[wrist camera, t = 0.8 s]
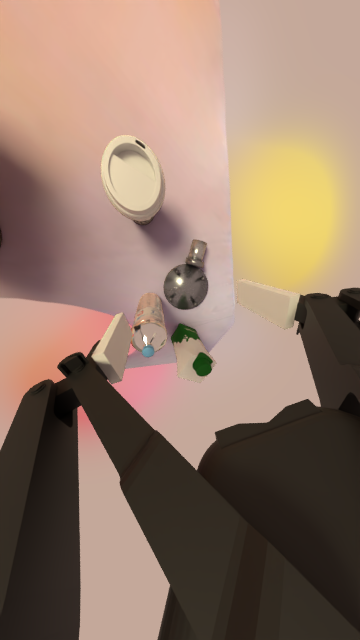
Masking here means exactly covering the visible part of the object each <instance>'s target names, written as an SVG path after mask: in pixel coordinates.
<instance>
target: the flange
mask: <svg viewBox="0 0 360 640" xmlns="http://www.w3.org/2000/svg"><path fill="white" fill-rule="evenodd" d="M206 246H207V243H205V242H203V241H200V240H193V241H192V245H191V249H190V253H189V257H188V258H186V262H185V263H187V264H182V265H179V266H176V267H175V268H173V269H172V270H171V271H170V272H169V273H168V275H167V276H166V278H165V281H164V293H165V296H166V299H167V300H168V302H169V303H170V304H171V305H173V306H174V307H176V308H178V309H191V308H193V307H195V306H197V305H198V304H200V303H201V302H202V300H203V299H204V297H205V296H206V293H207V289H208V282H207V278H206V276H205V274H204V273H203V271H202V270H201V269H200V268H198V267H202V268H203V266H204V262H202V259H203V256H204V253H205V249H206ZM190 264H191V265H190ZM196 266H198V267H196Z"/></svg>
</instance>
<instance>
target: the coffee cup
mask: <svg viewBox="0 0 360 640" xmlns="http://www.w3.org/2000/svg"><path fill="white" fill-rule="evenodd" d="M101 178H102V183H103V187H104V190H105V192H106V195H107V197H108V199H109V200H110V202H111V203H112V205H113V206H114V207H115V208H116V209H117V210H118V211H119V212H120V213H121V214H122V215H124V216H125V217H127V218H129V219H132V220H133V221H134V222H136V223H138V224H140V225H146V224H148V223H150V222H151V221H152V219H153V217H154V215H155V214H156V213H157V212H158V211H159V210H160V208H161V206H162V204H163V201H164V196H165V179H164V174H163V171H162V168H161V165H160V163H159V161H158V159H157V157H156V155H155V154H154V153H153V151H152V150H151V149H150V148H149V147H148V146H147V145H146V144H145V143H144V142H142V141H141V140H139V139H138V138H135V137H133V136H129V135H122V136H118V137H116V138H114V139H113V140H112V141H111V142H110V143H109V144H108V146H107V147H106V149H105V151H104V153H103V156H102V161H101Z"/></svg>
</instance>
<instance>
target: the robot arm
mask: <svg viewBox="0 0 360 640" xmlns="http://www.w3.org/2000/svg"><path fill="white" fill-rule="evenodd" d="M1 240H2V237H1V231H0V246H1ZM237 303H239V304H240V305H242V306H244V307H245V308H247V309H249V310H251V311H253V312H255V313H256V314H258V315H260V316H262V317H263V318H265V319H267V320H269V321H271V322H272V323H274V324H276V325H277V326H279V327H281V328H283V329H288V328H291V327H293V325H294V320H296V321H299V325H298V329H297V335H298V333H300V334H301V338H302V341H303V345H304V348H305V351H306V355H307V358H308V362H309V365H310V368H311V372H312V375H313V379H314V382H315V386H316V389H317V392H318V395H319V399H320V403H321V407H316V406H315V405H314V404H313V403H312V402H311V401H310V400H308V399H306V400H303V401H300V402H298V403H295V404H292V405H289V406H287V407H285V408H284V409H283V410H282V411H281V412H279V413H278V414H277V415H276V416H275V417H274V418H273V419H272V420H271V421H270V422H267V423H249V424H237V425H234V426H231V427H228V428H225V429H223V430H220V431H217V432H215V435H216V441H215V442H214V443H213V444H212V445H211V446H210V447H209V448H208V449H207V451H206V452H205V454H204V455H203V457H202V459H201V461H200V463H199V466H198V469H197V470H195V468H194V467H193V466H191V464H190V463H189V462H188V461H187V460H186V459H185V458H184V457H183V456H181V454H180V453H179V452H178V451H177V450H176V449H175V448H174V447H173V446H172V445H171V444H170V443H169V442H168V441H167V440H166V439H165V438H164V437H163V436H162V435H161V434H160V433H159V432H158V431H155V430H154V429H153V428H152V427H151V426H150V425H149V424H148V423H147V422H146V421H145V420H144V419H143V418H142V417H141V416H140V415H139V414H138V413H137V412H136V410H134V408H133V407H132V406H131V405H130V404H129V403H128V402H127V401H126V400H125V399H124V398H123V397H122V396H121V395H120V394H119V393H118V392H117V391H116V390H115V389H114V388H113V387H112V385H111V384H113V383H117V382H120V381H122V378H123V373H124V369H125V365H126V361H127V356H128V352H129V348H130V343H131V339H132V335H133V333H132V331H131V328H130V326H129V324H128V322H127V320H126V318H125V316H124V314H123V313H120V314H116V315H115V317H114V319H113V320H112V322H111V324H110V325H109V327H108V329H107V331H106V332H105V334H104V336H103V338H102V339H101V340H99V341H98V342H97V343H96V344H95V345H94V346H93V347H92V350H91V351H90V353H89V354H88V355H87V357H86V358H85V356H84V355H83V354H82V353H81V352H78V353H74V354H72V355H70V356H68V357H66V358H65V359H63V360H62V361H61V362H60V363H59V365H58V367H57V368H58V369H59V370H60V371H61V372H62V373H63V374H64V375H65V376H66V378H65V379H63V380H61V381H60V382H57V383H54V382H53V381H52V380H49V379H48V380H44V381H42V382H40V383H38V384H36V385H34V386H33V387H32V388H30V389H29V391H28V392H27V393H26V394H25V395H24V396H23V398H22V401H21V403H20V405H19V408H18V410H17V412H16V415H15V417H14V420H13V422H12V424H11V427H10V429H9V431H8V434H7V436H6V439H5V441H4V443H3V446H2V448H1V450H0V640H79V628H80V533H79V480H78V420H77V407H79V406H81V405H82V407H83V409H84V411H85V413H86V414H87V416H88V418H89V420H90V422H91V424H92V425H93V427H94V429H95V431H96V433H97V435H98V437H99V438H100V440H101V442H102V444H103V446H104V448H105V449H106V451H107V453H108V455H109V457H110V459H111V460H112V462H113V464H114V466H115V468H116V469H117V472H118V473H119V476H120V486H121V489H122V491H123V494H124V496H125V498H126V500H127V502H128V503H129V506H130V507H131V510H132V511H133V513H134V515H135V517H136V519H137V521H138V523H139V525H140V527H141V529H142V531H143V533H144V535H145V537H146V538H147V541H148V543H149V544H150V546H151V548H152V550H153V552H154V554H155V556H156V558H157V560H158V562H159V564H160V566H161V568H162V570H163V572H164V574H165V576H166V578H167V580H168V582H169V584H170V588H169V593H168V597H167V601H166V605H165V610H164V614H163V618H162V623H161V627H160V632H159V636H158V640H360V321H359V320H358V319H359V317H360V288H349V289H342V290H341V291H340V293H339V296H338V297H331V296H329V295H327V294H321V293H313V294H307V295H306V296H303V295H300V294H297V293H294V292H290V291H287V290H282V289H279V288H275V287H271V286H267V285H264V284H260V283H256V282H253V281H249V280H245V279H241V280H237ZM107 379H108V380H109V382H110V383H111V384H110V383H109V382H108V381H107Z"/></svg>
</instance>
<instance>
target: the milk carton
mask: <svg viewBox="0 0 360 640" xmlns="http://www.w3.org/2000/svg"><path fill="white" fill-rule="evenodd" d="M171 340H172V343H173V345H174V349H175V354H176V358H177V369H178V377H179V378H183V379H187V380H191V381H195V382H199V383H201V382H202V381H203V379H204V378H205V377H206V376H207V375H208V374H209V373H210V372H211V370H212V368H213V367H214V365H215V364H216V362H215V360H214V359H213V358H212V357H211V356H210V354H209V353H208V352H207V350H206V349H205V347H204V345H203V344H202V342H201V340H200V338H199V336H198V334H197V332H196V330H195V329H192V328H190V327H188V326H185V325H183V324H181V323H180V324H179V325H178V327H177V329H176V330H175V332H174V334H173V335H172V337H171Z"/></svg>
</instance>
